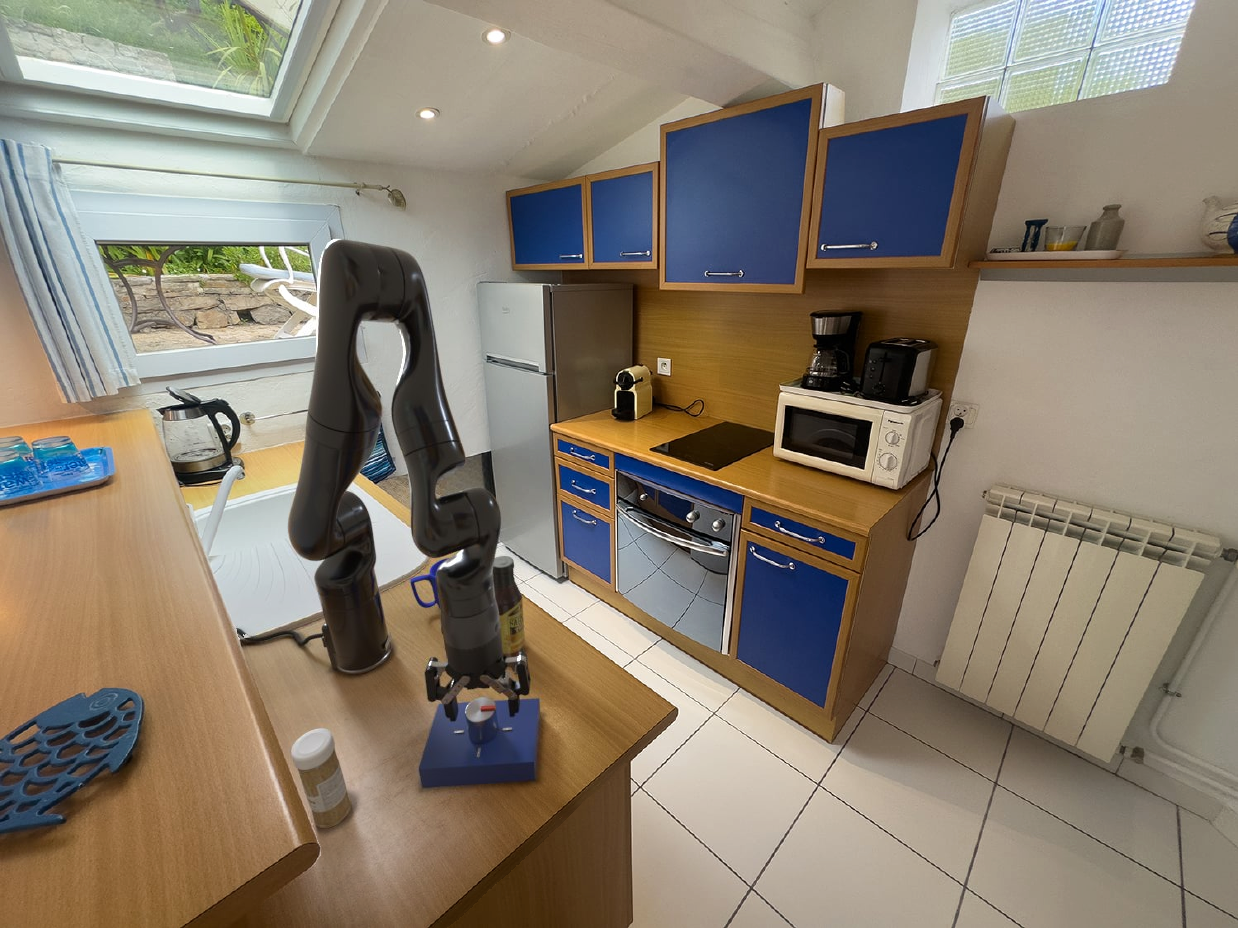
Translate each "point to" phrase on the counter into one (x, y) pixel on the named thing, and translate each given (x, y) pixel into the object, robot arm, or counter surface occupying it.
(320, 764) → the sprinkles bottle
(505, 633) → the sauce bottle
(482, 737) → the silver pointer knob
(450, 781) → the blue knob base block
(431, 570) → the mug
